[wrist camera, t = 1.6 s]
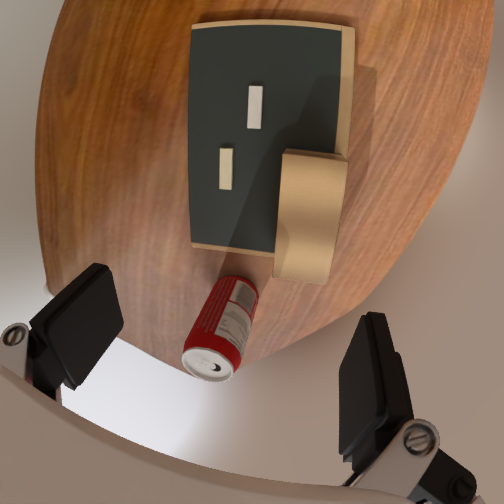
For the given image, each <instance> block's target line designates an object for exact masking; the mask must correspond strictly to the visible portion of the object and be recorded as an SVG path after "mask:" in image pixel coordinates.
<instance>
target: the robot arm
mask: <svg viewBox="0 0 504 504" xmlns="http://www.w3.org/2000/svg"><path fill="white" fill-rule="evenodd" d="M29 323H30V325H31V327H32V329H31V330H29V329H28V326H27V325H25V324H24V323H15V324H12V325H10V326H8V327H7V328H6V329H5V330H4V331H3V333H2V335H1V337H0V504H485V503H484V501H483V499H482V498H481V496H477V497H476V495H475V493H476V489H477V484H476V479H475V477H474V475H473V474H472V473H471V472H470V471H468V470H467V469H466V468H464V467H463V466H461V465H460V464H459V463H458V462H456V461H455V460H454V459H452V458H451V457H450V456H448V455H447V454H446V453H444V452H443V451H442V450H441V449H439V445H440V436H439V433H438V431H437V429H436V428H435V426H434V425H432V424H431V423H430V422H428V421H426V420H423V419H414V415H413V410H412V404H411V399H410V394H409V389H408V384H407V380H406V375H405V371H404V367H403V363H402V359H401V356H400V354H399V353H398V352H395V350H394V346H393V342H392V338H391V335H390V331H389V327H388V323H387V320H386V316H385V314H384V313H378V312H368V313H367V314H366V315H362V316H361V318H360V320H359V323H358V326H357V328H356V330H355V333H354V335H353V338H352V340H351V343H350V345H349V347H348V349H347V352H346V354H345V356H344V359H343V361H342V363H341V365H340V369H339V454H340V455H343V462H352V470H353V473H352V474H351V475H350V476H349V477H348V478H347V479H346V480H345V481H344V482H343V483H342V484H341V485H340V486H327V485H311V484H300V483H290V482H282V481H274V480H267V479H261V478H254V477H249V476H243V475H238V474H233V473H229V472H224V471H220V470H216V469H212V468H208V467H204V466H200V465H197V464H194V463H190V462H187V461H184V460H181V459H177V458H174V457H171V456H168V455H165V454H163V453H160V452H157V451H154V450H152V449H149V448H147V447H144V446H141V445H139V444H137V443H134V442H132V441H129V440H127V439H125V438H123V437H120V436H118V435H116V434H114V433H112V432H110V431H108V430H106V429H104V428H102V427H100V426H98V425H96V424H94V423H92V422H90V421H88V420H87V419H85V418H83V417H81V416H79V415H78V414H76V413H74V412H72V411H71V410H69V409H67V408H66V407H64V406H62V398H61V386H60V385H61V384H62V382H63V383H64V385H65V386H67V387H68V388H70V389H72V390H75V389H76V388H77V386H79V385H81V384H82V383H83V382H84V380H85V379H86V377H87V376H88V374H89V373H90V372H91V370H92V369H93V367H94V366H95V365H96V363H97V362H98V361H99V359H100V358H101V356H102V355H103V354H104V352H105V351H106V350H107V348H108V347H109V346H110V344H111V343H112V342H113V340H114V339H115V338H116V336H117V335H118V334H119V332H120V331H121V330H122V328H123V324H124V321H123V317H122V313H121V310H120V306H119V302H118V298H117V294H116V289H115V285H114V281H113V276H112V272H111V271H110V270H109V267H108V266H107V265H103V264H99V263H93V264H92V265H90V266H89V267H88V268H87V269H86V270H85V271H83V272H82V273H81V274H80V275H79V276H78V277H76V278H75V279H74V280H73V281H72V282H71V283H70V284H69V285H67V286H66V287H65V288H64V289H63V290H62V291H61V292H60V293H59V294H57V295H56V296H55V297H54V298H53V299H52V300H51V301H50V302H49V303H48V304H47V305H46V306H45V307H44V308H43V309H42V310H41V311H40V312H38V313H37V314H36V316H34V317H33V318H32V319H31V320H30V321H29Z"/></svg>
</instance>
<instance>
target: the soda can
mask: <svg viewBox="0 0 504 504" xmlns="http://www.w3.org/2000/svg"><path fill="white" fill-rule="evenodd" d="M258 298H259V296H258V292H257V290H256V288H255V287H254V286H253V285H252V284H251V283H250V282H249V281H248V280H246V279H244V278H241V277H238V276H226V277H223V278H221V279H219V280H218V281H217V282H216V284H215V285H214V287H213V289H212V291H211V293H210V295H209V296H208V298H207V300H206V302H205V304H204V306H203V308H202V310H201V312H200V314H199V316H198V318H197V320H196V322H195V323H194V325H193V327H192V329H191V331H190V333H189V335H188V337H187V339H186V341H185V344H184V350H183V356H182V363H183V365H184V367H185V368H186V369H187V370H188V371H189V372H190V373H191V374H192V375H194V376H196V377H198V378H200V379H202V380H204V381H208V382H212V383H223V382H226V381H228V380H230V379H231V378H232V376H233V374H234V372H235V371H236V370H237V368H238V367H239V365H240V363H241V360H242V356H243V353H244V349H245V346H246V342H247V339H248V336H249V332H250V329H251V325H252V322H253V318H254V315H255V311H256V307H257V304H258Z"/></svg>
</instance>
